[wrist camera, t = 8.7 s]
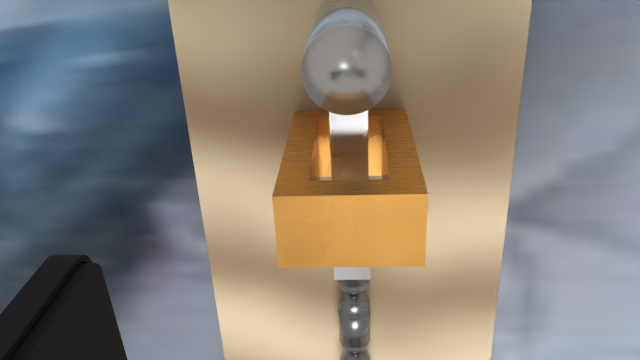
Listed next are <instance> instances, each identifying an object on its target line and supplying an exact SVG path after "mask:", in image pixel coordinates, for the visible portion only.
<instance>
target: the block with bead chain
mask: <svg viewBox="0 0 640 360" xmlns="http://www.w3.org/2000/svg"><path fill="white" fill-rule="evenodd" d="M368 170H369V176H382V179H371V180H320V177H332V174H331V149H330V125H329V112H328V111H294V115H293V119H292V123H291V126H290V130H289V134H288V138H287V142H286V145H285V149H284V153H283V157H282V160H281V164H280V168H279V172H278V176H277V179H276V183H275V187H274V191H273V194H272V203H273V214H274V224H275V235H276V245H277V256H278V266H279V268H311V267H415V266H425V256H426V234H427V212H428V191H427V187H426V183H425V180H424V176H423V172H422V168H421V165H420V161H419V157H418V153H417V149H416V146H415V142H414V138H413V134H412V131H411V127H410V123H409V119H408V116H407V112H406V108H404V109H369V110H368ZM337 281H338V284H339V286H340V288H341V289H342V290H343V291H344V292H343V293H342V294H341V295H340V297H339V300H338V316H339V339H340V343H341V345H342V347H343V348H344V351H343V352H342V354H341V358H340V360H371V359H370V355H369V353H368V351H367V350H366V348H367V347H368V345H369V343H370V337H371V336H370V299H369V297H368V295H367V294H366V293H365V292H364V290H365V289H366V288H367V287H368V285H369V282H370V280H337Z"/></svg>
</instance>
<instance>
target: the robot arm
mask: <svg viewBox="0 0 640 360" xmlns="http://www.w3.org/2000/svg"><path fill="white" fill-rule="evenodd" d="M0 360H127V357H126V353H125V350H124V346H123V342H122V339H121V335H120V332H119V328H118V325H117V321H116V318H115V314H114V311H113V307H112V304H111V300H110V297H109V293H108V290H107V286H106V283H105V279H104V276H103V272H102V269H101V267H100V266H99V265H98V264H96V263H92V261H91V259H90V258H89V257H88V256H86V255H52V256H49V257H48V258H47V259H46V260H45V261H44V262H43V264H42V265H41V266H40V267H39V269H38V270H37V271H36V272H35V273H34V275H33V276H32V277H31V278H30V279H29V281H28V282H27V283H26V284H25V285H24V287H23V288H22V289H21V290H20V291H19V293H18V294H17V295H16V296H15V297H14V299H13V300H12V301H11V302H10V304H9V305H8V306H7V307H6V308H5V310H4V311H3V312H2V313H1V314H0Z"/></svg>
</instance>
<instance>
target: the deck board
mask: <svg viewBox="0 0 640 360" xmlns="http://www.w3.org/2000/svg"><path fill="white" fill-rule="evenodd" d="M323 1H324V0H168V6H169V12H170V18H171V24H172V31H173V37H174V43H175V49H176V56H177V62H178V68H179V74H180V81H181V87H182V93H183V99H184V106H185V112H186V118H187V124H188V131H189V137H190V143H191V150H192V156H193V162H194V168H195V175H196V181H197V187H198V193H199V200H200V206H201V212H202V218H203V225H204V231H205V237H206V243H207V250H208V256H209V262H210V269H211V275H212V281H213V287H214V294H215V300H216V306H217V312H218V319H219V325H220V331H221V337H222V344H223V350H224V356H225V360H340V358H341V354H342V352H343V351H344V348H343V347H342V345H341V343H340V339H339V316H338V300H339V297H340V295H341V294H342V293H343V292H344V291H343V290H342V289H341V288H340V286H339V284H338V281H337V280H334V267H311V268H279V266H278V256H277V245H276V235H275V224H274V214H273V203H272V194H273V191H274V187H275V183H276V179H277V176H278V172H279V168H280V164H281V160H282V157H283V153H284V149H285V145H286V142H287V138H288V134H289V130H290V126H291V123H292V119H293V115H294V111H326V110H324V109H323V108H321V107H320V106H318V105H317V104H316V103H315V102H314V101H313V100H312V99H311V98H310V96H309V95H308V93H307V91H306V89H305V87H304V84H303V80H302V62H303V58H304V55H305V51H306V48H307V44H308V41H309V38H310V34H311V31H312V28H313V24H314V21H315V18H316V14H317V11H318V9H319V7H320V5H321V3H322V2H323ZM372 1H373V2H374V3H375V5H376V7H377V9H378V11H379V14H380V18H381V22H382V26H383V30H384V34H385V38H386V42H387V46H388V50H389V54H390V58H391V62H392V79H391V83H390V86H389V88H388V90H387V92H386V94H385V95H384V97H383V98H382V99H381V100H380V101H379V102H378V103H377V104H376V105H375V106H374V107H372V108H371V109H404V108H406V112H407V116H408V119H409V123H410V127H411V131H412V134H413V138H414V142H415V146H416V149H417V153H418V157H419V161H420V165H421V168H422V172H423V176H424V180H425V183H426V187H427V191H428V212H427V234H426V256H425V266H415V267H370V282H369V285H368V287H367V288H366V289H365V290H364V292H365V293H366V294H367V295H368V297H369V299H370V336H371V337H370V343H369V345H368V347H367V348H366V350H367V351H368V353H369V355H370V359H371V360H490V357H491V348H492V340H493V331H494V323H495V314H496V306H497V297H498V288H499V280H500V271H501V263H502V254H503V246H504V237H505V229H506V220H507V212H508V203H509V194H510V186H511V177H512V169H513V160H514V152H515V143H516V135H517V126H518V117H519V109H520V100H521V92H522V83H523V75H524V66H525V58H526V49H527V41H528V32H529V23H530V15H531V6H532V0H372ZM371 179H382V176H369V180H371ZM320 180H332V177H320Z"/></svg>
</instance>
